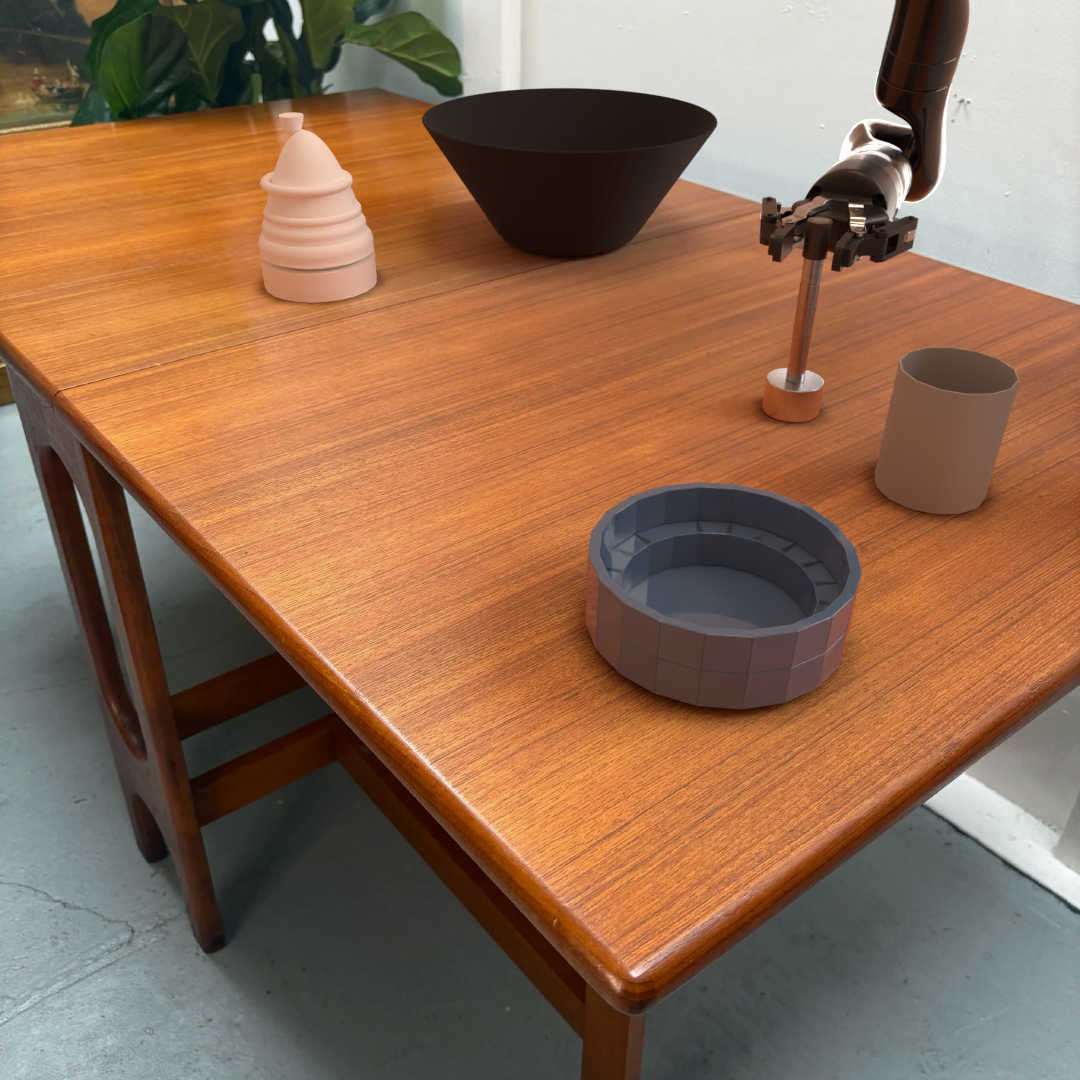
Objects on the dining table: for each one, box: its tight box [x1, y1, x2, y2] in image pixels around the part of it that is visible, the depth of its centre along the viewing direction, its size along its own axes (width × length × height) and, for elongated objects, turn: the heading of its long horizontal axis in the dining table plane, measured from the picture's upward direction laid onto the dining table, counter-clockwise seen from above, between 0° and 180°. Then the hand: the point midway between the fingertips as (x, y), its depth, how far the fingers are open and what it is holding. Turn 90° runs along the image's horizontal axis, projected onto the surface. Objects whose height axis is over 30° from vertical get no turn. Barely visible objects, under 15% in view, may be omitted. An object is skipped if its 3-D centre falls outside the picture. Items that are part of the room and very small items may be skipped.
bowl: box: [421, 87, 718, 257], centre depth 127 cm, size 36×36×15 cm
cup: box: [873, 346, 1021, 515], centre depth 78 cm, size 8×8×10 cm
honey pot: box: [257, 111, 378, 304], centre depth 113 cm, size 13×13×18 cm
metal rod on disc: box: [761, 217, 833, 423], centre depth 87 cm, size 5×5×17 cm
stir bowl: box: [585, 481, 863, 710], centre depth 64 cm, size 16×16×6 cm
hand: (807, 254), depth 81 cm, fingers open, 4 cm apart
